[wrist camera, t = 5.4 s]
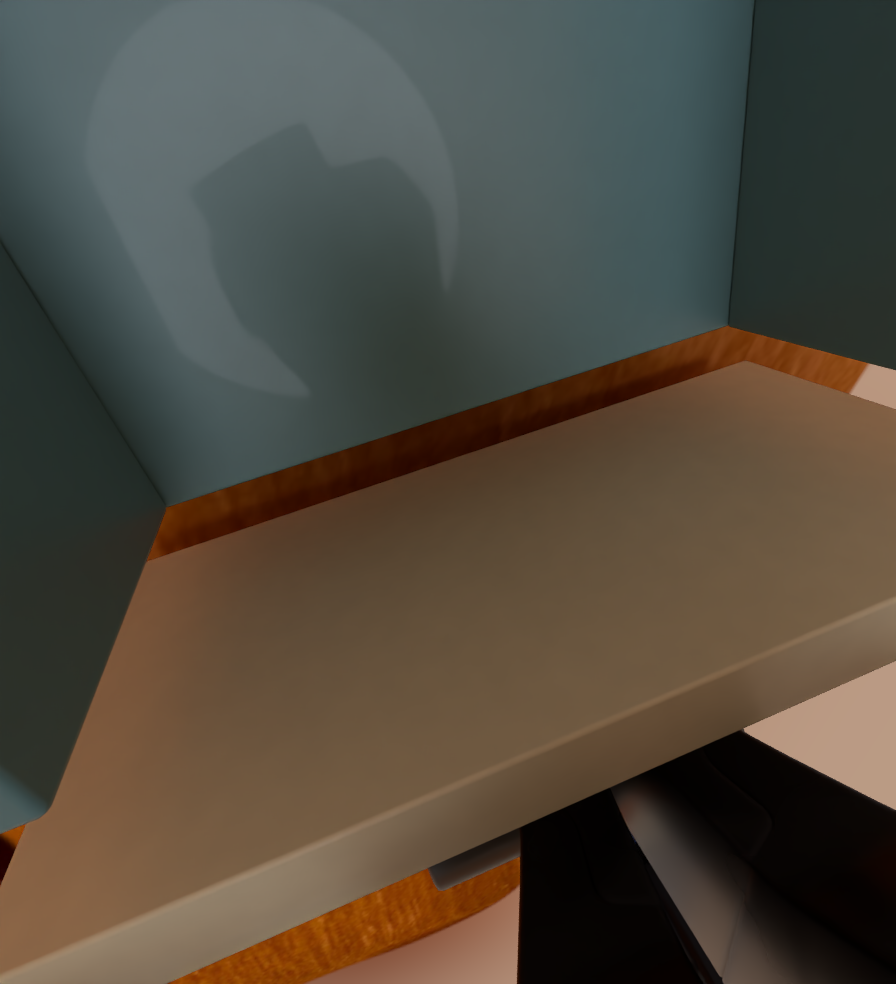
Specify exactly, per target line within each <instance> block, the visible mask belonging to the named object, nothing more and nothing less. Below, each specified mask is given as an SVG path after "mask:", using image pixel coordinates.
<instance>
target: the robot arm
mask: <svg viewBox="0 0 896 984" xmlns="http://www.w3.org/2000/svg"><path fill="white" fill-rule="evenodd" d="M628 828H629V829H628ZM519 830H520V902H519V933H518V965H517V967H518V968H517V984H896V810H894V809H892V808H890V807H888V806H886V805H884V804H882V803H880V802H878V801H876V800H874V799H872V798H870V797H868V796H866V795H864V794H862V793H860V792H858V791H856V790H854V789H852V788H850V787H848V786H846V785H844V784H842V783H840V782H839V781H836V780H835V779H833V778H831V777H829V776H827V775H825V774H823V773H821V772H819V771H817V770H815V769H813V768H811V767H809V766H807V765H805V764H803V763H801V762H799V761H797V760H795V759H793V758H791V757H789V756H788V755H786V754H784V753H782V752H780V751H778V750H776V749H774V748H772V747H771V746H769V745H767V744H765V743H763V742H761V741H760V740H758V739H755V738H754V737H752V736H750V735H748V734H747V733H745V732H744V731H742V730H738V731H736V732H734V733H732V734H729V735H727V736H725V737H723V738H720V739H718V740H716V741H713V742H711V743H709V744H707V745H704V746H702V747H700V748H698V749H695V750H693V751H691V752H689V753H686V754H684V755H682V756H680V757H677V758H675V759H673V760H671V761H668V762H666V763H664V764H662V765H659V766H657V767H655V768H652V769H650V770H648V771H646V772H643V773H641V774H639V775H637V776H634V777H632V778H630V779H628V780H625V781H623V782H621V783H619V784H616V785H614V786H612V787H610V788H607V789H605V790H603V791H600V792H598V793H596V794H594V795H591V796H589V797H587V798H585V799H582V800H580V801H578V802H576V803H573V804H571V805H569V806H567V807H564V808H562V809H560V810H558V811H555V812H553V813H551V814H549V815H546V816H544V817H542V818H539V819H537V820H535V821H533V822H530V823H528V824H526V825H524V826H521V827H519ZM629 830H630V831H631V833H632V835H633V836H634V838H635V840H636V841H637V842H636V843H634V840H633V838H632V836H631V834H630V831H629Z"/></svg>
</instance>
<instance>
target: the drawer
mask: <svg viewBox="0 0 896 984" xmlns="http://www.w3.org/2000/svg"><path fill="white" fill-rule="evenodd" d="M728 325H729V326H730V327H733V328H737V329H740V330H744V331H748V332H752V333H756V334H760V335H763V336H767V337H771V338H775V339H779V340H782V341H786V342H790V343H794V344H798V345H801V346H805V347H809V348H813V349H817V350H821V351H824V352H828V353H832V354H836V355H840V356H843V357H847V358H851V359H855V360H859V361H863V362H866V363H870V364H874V365H878V366H882V367H885V368H890V369H893V370H896V0H0V834H1V833H3V832H6V831H8V830H11V829H14V828H16V827H19V826H21V825H24V824H26V823H27V824H26V826H25V828H24V831H23V833H22V836H21V838H20V840H19V843H18V845H17V848H16V850H15V852H14V855H13V857H12V860H11V862H10V864H9V867H8V869H7V872H6V874H5V876H4V879H3V881H2V884H1V886H0V984H167V983H169V982H171V981H173V980H176V979H178V978H180V977H182V976H185V975H187V974H189V973H191V972H194V971H196V970H198V969H200V968H203V967H205V966H207V965H209V964H212V963H214V962H216V961H219V960H221V959H223V958H225V957H228V956H230V955H232V954H234V953H237V952H239V951H241V950H243V949H246V948H248V947H250V946H252V945H255V944H257V943H259V942H261V941H264V940H266V939H268V938H271V937H273V936H275V935H277V934H280V933H282V932H284V931H286V930H289V929H291V928H293V927H295V926H298V925H300V924H302V923H304V922H307V921H309V920H311V919H313V918H316V917H318V916H320V915H322V914H325V913H327V912H329V911H332V910H334V909H336V908H338V907H341V906H343V905H345V904H347V903H350V902H352V901H354V900H356V899H359V898H361V897H363V896H365V895H368V894H370V893H372V892H374V891H377V890H379V889H381V888H384V887H386V886H388V885H390V884H393V883H395V882H397V881H399V880H402V879H404V878H406V877H408V876H411V875H413V874H415V873H417V872H420V871H422V870H424V869H426V868H428V870H429V873H430V875H431V878H432V880H433V882H434V884H435V886H436V887H437V889H438V890H443V891H444V890H446V889H448V888H451V887H453V886H455V885H457V884H459V883H462V882H464V881H466V880H468V879H471V878H473V877H475V876H477V875H479V874H482V873H484V872H486V871H488V870H491V869H493V868H495V867H497V866H499V865H502V864H504V863H506V862H508V861H511V860H513V859H515V858H517V857H519V856H520V830H519V827H521V826H524V825H526V824H528V823H530V822H533V821H535V820H537V819H539V818H542V817H544V816H546V815H549V814H551V813H553V812H555V811H558V810H560V809H562V808H564V807H567V806H569V805H571V804H573V803H576V802H578V801H580V800H582V799H585V798H587V797H589V796H591V795H594V794H596V793H598V792H600V791H603V790H605V789H607V788H610V787H612V786H614V785H616V784H619V783H621V782H623V781H625V780H628V779H630V778H632V777H634V776H637V775H639V774H641V773H643V772H646V771H648V770H650V769H652V768H655V767H657V766H659V765H662V764H664V763H666V762H668V761H671V760H673V759H675V758H677V757H680V756H682V755H684V754H686V753H689V752H691V751H693V750H695V749H698V748H700V747H702V746H704V745H707V744H709V743H711V742H713V741H716V740H718V739H720V738H723V737H725V736H727V735H729V734H732V733H734V732H736V731H738V730H742V731H744V729H743V728H745V727H747V726H750V725H752V724H754V723H756V722H759V721H761V720H763V719H765V718H768V717H770V716H772V715H775V714H777V713H779V712H781V711H784V710H786V709H788V708H790V707H792V706H795V705H797V704H799V703H802V702H804V701H806V700H808V699H811V698H813V697H815V696H817V695H820V694H822V693H824V692H827V691H829V690H831V689H833V688H836V687H838V686H840V685H842V684H845V683H847V682H849V681H851V680H854V679H856V678H858V677H860V676H863V675H865V674H867V673H869V672H872V671H874V670H876V669H878V668H881V667H883V666H885V665H887V664H890V663H892V662H894V661H896V409H893V408H890V407H887V406H884V405H880V404H878V403H875V402H872V401H869V400H865V399H862V398H859V397H856V396H853V395H850V394H847V393H844V392H841V391H838V390H835V389H832V388H829V387H826V386H823V385H820V384H816V383H813V382H810V381H807V380H804V379H801V378H798V377H795V376H792V375H789V374H786V373H783V372H780V371H777V370H773V369H770V368H767V367H764V366H761V365H758V364H755V363H752V362H749V361H742V362H739V363H736V364H733V365H730V366H727V367H724V368H721V369H718V370H715V371H712V372H709V373H707V374H704V375H701V376H698V377H695V378H692V379H689V380H686V381H683V382H680V383H677V384H674V385H671V386H668V387H665V388H662V389H659V390H656V391H653V392H650V393H647V394H644V395H641V396H638V397H635V398H632V399H629V400H626V401H623V402H620V403H617V404H614V405H611V406H608V407H605V408H602V409H599V410H596V411H593V412H590V413H587V414H584V415H581V416H578V417H575V418H572V419H570V420H567V421H564V422H561V423H558V424H555V425H552V426H549V427H546V428H543V429H540V430H537V431H534V432H531V433H528V434H525V435H522V436H519V437H516V438H513V439H510V440H507V441H504V442H501V443H498V444H495V445H492V446H489V447H486V448H483V449H480V450H477V451H474V452H471V453H468V454H465V455H462V456H459V457H456V458H453V459H450V460H447V461H444V462H441V463H438V464H435V465H433V466H430V467H427V468H424V469H421V470H418V471H415V472H412V473H409V474H406V475H403V476H400V477H397V478H394V479H391V480H388V481H385V482H382V483H379V484H376V485H373V486H370V487H367V488H364V489H361V490H358V491H355V492H352V493H349V494H346V495H343V496H340V497H337V498H334V499H331V500H328V501H325V502H322V503H319V504H316V505H313V506H310V507H307V508H304V509H301V510H298V511H296V512H293V513H290V514H287V515H284V516H281V517H278V518H275V519H272V520H269V521H266V522H263V523H260V524H257V525H254V526H251V527H248V528H245V529H242V530H239V531H236V532H233V533H230V534H227V535H224V536H221V537H218V538H215V539H212V540H209V541H206V542H203V543H200V544H197V545H194V546H191V547H188V548H185V549H182V550H179V551H176V552H173V553H170V554H167V555H164V556H161V557H159V558H156V559H153V560H150V561H147V558H148V556H149V553H150V550H151V548H152V545H153V543H154V540H155V538H156V535H157V532H158V530H159V527H160V525H161V522H162V519H163V517H164V514H165V512H166V507H169V506H172V505H175V504H179V503H182V502H185V501H188V500H191V499H194V498H197V497H200V496H203V495H206V494H209V493H212V492H216V491H219V490H222V489H225V488H228V487H231V486H234V485H237V484H240V483H243V482H246V481H250V480H253V479H256V478H259V477H262V476H265V475H268V474H271V473H274V472H277V471H280V470H283V469H287V468H290V467H293V466H296V465H299V464H302V463H305V462H308V461H311V460H314V459H317V458H321V457H324V456H327V455H330V454H333V453H336V452H339V451H342V450H345V449H348V448H351V447H354V446H358V445H361V444H364V443H367V442H370V441H373V440H376V439H379V438H382V437H385V436H388V435H391V434H395V433H398V432H401V431H404V430H407V429H410V428H413V427H416V426H419V425H422V424H425V423H429V422H432V421H435V420H438V419H441V418H444V417H447V416H450V415H453V414H456V413H459V412H462V411H466V410H469V409H472V408H475V407H478V406H481V405H484V404H487V403H490V402H493V401H496V400H500V399H503V398H506V397H509V396H512V395H515V394H518V393H521V392H524V391H527V390H530V389H533V388H537V387H540V386H543V385H546V384H549V383H552V382H555V381H558V380H561V379H564V378H567V377H571V376H574V375H577V374H580V373H583V372H586V371H589V370H592V369H595V368H598V367H601V366H604V365H608V364H611V363H614V362H617V361H620V360H623V359H626V358H629V357H632V356H635V355H638V354H642V353H645V352H648V351H651V350H654V349H657V348H660V347H663V346H666V345H669V344H672V343H675V342H679V341H682V340H685V339H688V338H691V337H694V336H697V335H700V334H703V333H706V332H709V331H713V330H716V329H719V328H722V327H725V326H728ZM146 561H147V562H146Z"/></svg>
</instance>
